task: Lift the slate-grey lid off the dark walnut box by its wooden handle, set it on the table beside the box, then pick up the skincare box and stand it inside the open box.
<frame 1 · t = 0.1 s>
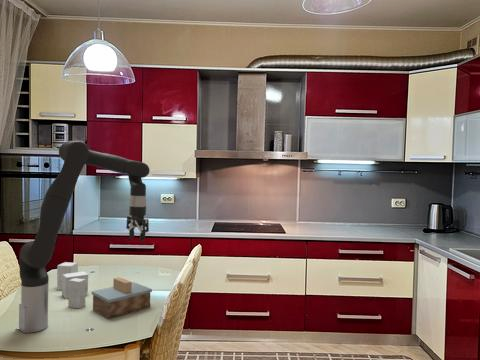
hand: (137, 239, 182), 29 cm above the table, tool pointing down, fingers open, 8 cm apart
supplement box: (67, 288, 199), on the table
skincare box: (76, 306, 174), on the table
lid: (122, 292, 173), point 7 cm above the table, touching box
skincare box 2: (75, 295, 189), on the table
box: (121, 308, 173), on the table
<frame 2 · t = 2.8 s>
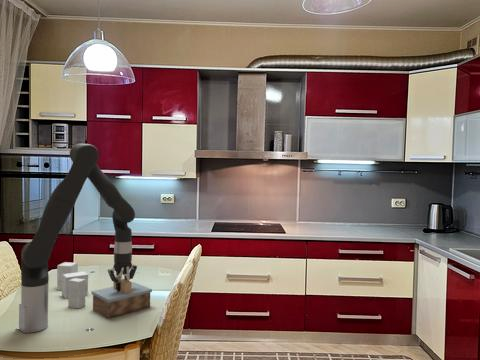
hand: (122, 289, 173), 8 cm above the table, tool pointing down, fingers closed on lid, 3 cm apart
lid: (122, 292, 173), point 7 cm above the table, touching box, gripper
everything else where it was.
when the fingers open (3 cm above the table, at t = 9.9 s): lid drops 2 cm, on the table.
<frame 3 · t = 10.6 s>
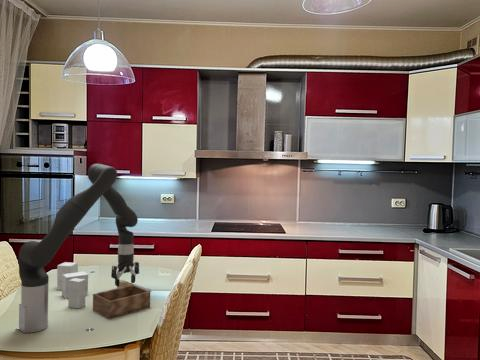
hand: (125, 284, 195), 4 cm above the table, tool pointing down, fingers open, 8 cm apart
lid: (124, 293, 195), on the table
everything else where it was.
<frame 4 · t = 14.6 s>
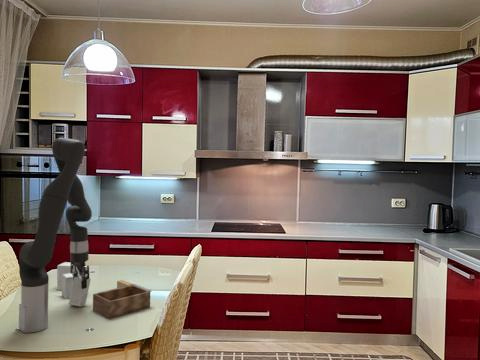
hand: (79, 286, 174), 9 cm above the table, tool pointing down, fingers open, 8 cm apart
skincare box: (76, 305, 174), on the table, touching gripper
everything else where it was.
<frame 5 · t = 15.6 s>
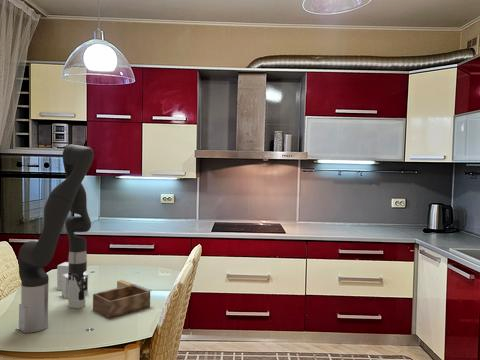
hand: (77, 297, 174), 4 cm above the table, tool pointing down, fingers closed on skincare box, 7 cm apart
skincare box: (76, 306, 174), on the table, touching gripper
everything else where it was.
when the fingers open (6 cm above the table, at t = 24.2 s): skincare box drops 1 cm, resting on box.
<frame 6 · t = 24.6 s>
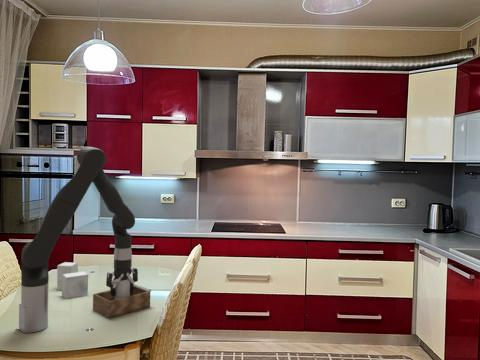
hand: (122, 293, 173), 7 cm above the table, tool pointing down, fingers open, 8 cm apart
skincare box: (122, 306, 173), point 1 cm above the table, touching box
everything else where it was.
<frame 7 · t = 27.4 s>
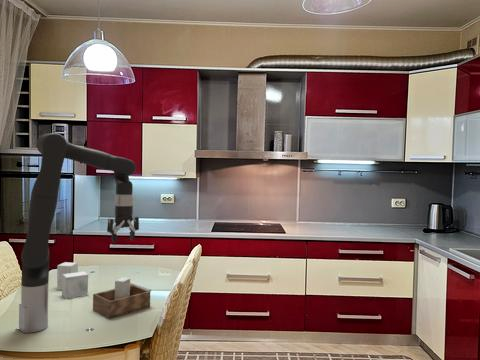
hand: (123, 241, 172), 30 cm above the table, tool pointing down, fingers open, 8 cm apart
nothing on the table moved.
at the end: lid inside the target area (0.2 cm from its centre), on the table; skincare box inside the target area on the box (0.2 cm from its centre), point 0.8 cm above the box's base; skincare box tilted 0° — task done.
